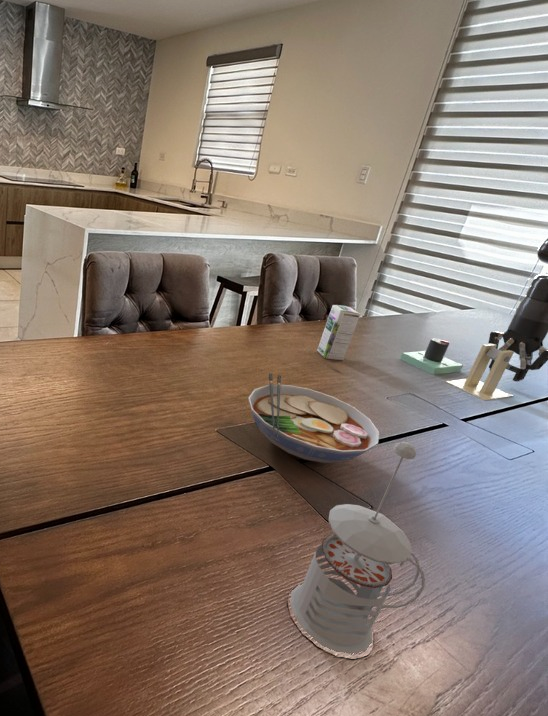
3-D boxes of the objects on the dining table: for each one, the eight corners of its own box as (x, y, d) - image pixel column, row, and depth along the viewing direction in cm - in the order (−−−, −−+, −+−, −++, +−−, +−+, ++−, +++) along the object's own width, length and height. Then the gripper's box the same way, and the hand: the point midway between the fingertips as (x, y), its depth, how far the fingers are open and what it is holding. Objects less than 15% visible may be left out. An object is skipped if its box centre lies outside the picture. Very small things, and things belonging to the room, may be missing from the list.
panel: (425, 359, 142) (429, 350, 141) (458, 374, 134) (463, 364, 133) (398, 362, 138) (402, 352, 137) (431, 377, 130) (436, 367, 128)
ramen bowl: (377, 508, 75) (395, 467, 72) (233, 464, 82) (244, 425, 79) (356, 431, 97) (369, 397, 94) (244, 402, 104) (253, 368, 101)
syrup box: (316, 350, 139) (331, 304, 133) (335, 352, 139) (351, 306, 133) (324, 358, 133) (340, 310, 128) (344, 361, 134) (361, 313, 128)
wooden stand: (471, 381, 130) (491, 339, 125) (511, 399, 122) (534, 355, 117) (443, 385, 126) (463, 341, 121) (482, 404, 117) (506, 357, 112)
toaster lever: (496, 367, 127) (502, 360, 127) (517, 375, 123) (523, 368, 123) (479, 352, 121) (485, 344, 121) (500, 360, 117) (507, 352, 117)
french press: (283, 572, 61) (345, 408, 52) (380, 603, 59) (464, 435, 49) (289, 641, 53) (364, 458, 43) (403, 680, 50) (511, 495, 40)
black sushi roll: (423, 358, 134) (431, 339, 132) (423, 354, 138) (431, 335, 135) (441, 363, 132) (450, 344, 130) (441, 358, 136) (449, 340, 133)
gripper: (576, 326, 115) (542, 387, 121) (511, 306, 127) (484, 363, 133) (559, 327, 112) (526, 390, 118) (495, 307, 124) (467, 364, 130)
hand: (504, 375), depth 126 cm, fingers closed on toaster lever, 5 cm apart
